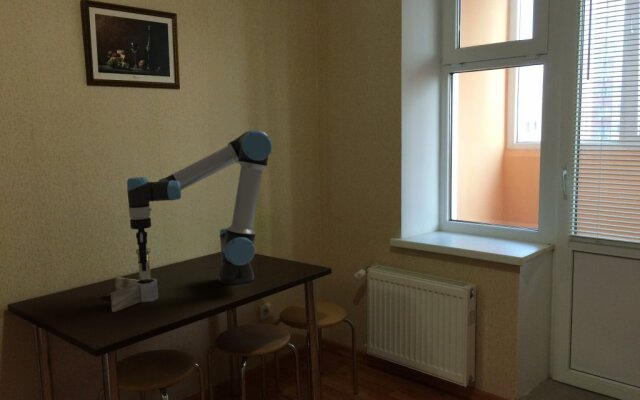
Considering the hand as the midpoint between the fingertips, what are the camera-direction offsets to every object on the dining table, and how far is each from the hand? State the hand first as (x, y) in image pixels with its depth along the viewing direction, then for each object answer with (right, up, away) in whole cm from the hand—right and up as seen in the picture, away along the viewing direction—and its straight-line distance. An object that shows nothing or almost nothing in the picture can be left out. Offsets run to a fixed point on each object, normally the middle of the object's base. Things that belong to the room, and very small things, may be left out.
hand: (145, 277), depth 203 cm
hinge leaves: (-10, -9, -2) cm, 14 cm away
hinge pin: (0, -6, +1) cm, 6 cm away
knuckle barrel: (0, -9, +1) cm, 9 cm away
